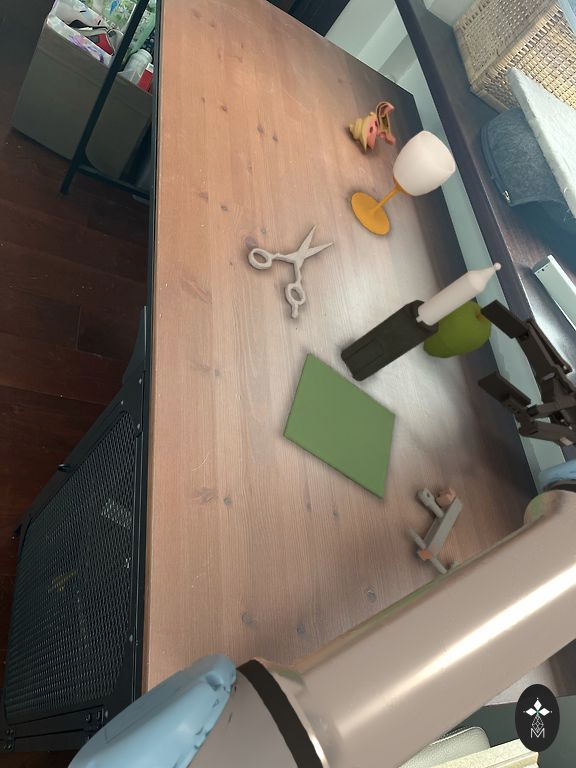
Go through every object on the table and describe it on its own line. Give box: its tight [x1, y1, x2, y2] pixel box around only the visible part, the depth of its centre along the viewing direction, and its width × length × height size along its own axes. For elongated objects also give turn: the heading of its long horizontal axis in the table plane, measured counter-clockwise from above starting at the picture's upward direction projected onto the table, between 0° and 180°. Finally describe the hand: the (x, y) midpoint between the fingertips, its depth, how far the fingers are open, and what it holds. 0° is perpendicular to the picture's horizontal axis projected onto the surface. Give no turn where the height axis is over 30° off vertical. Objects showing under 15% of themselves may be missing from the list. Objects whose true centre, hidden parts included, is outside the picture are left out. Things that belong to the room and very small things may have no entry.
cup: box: [350, 130, 456, 236], centre depth 104 cm, size 9×9×16 cm
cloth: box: [283, 352, 396, 499], centre depth 81 cm, size 14×16×1 cm
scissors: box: [247, 224, 335, 319], centre depth 90 cm, size 11×1×20 cm
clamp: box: [407, 487, 464, 575], centre depth 81 cm, size 15×2×10 cm
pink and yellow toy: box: [349, 101, 397, 154], centre depth 119 cm, size 9×10×10 cm
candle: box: [340, 262, 502, 382], centre depth 80 cm, size 5×5×25 cm
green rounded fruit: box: [422, 300, 493, 359], centre depth 98 cm, size 9×8×12 cm
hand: (487, 339), depth 80 cm, fingers open, 13 cm apart
